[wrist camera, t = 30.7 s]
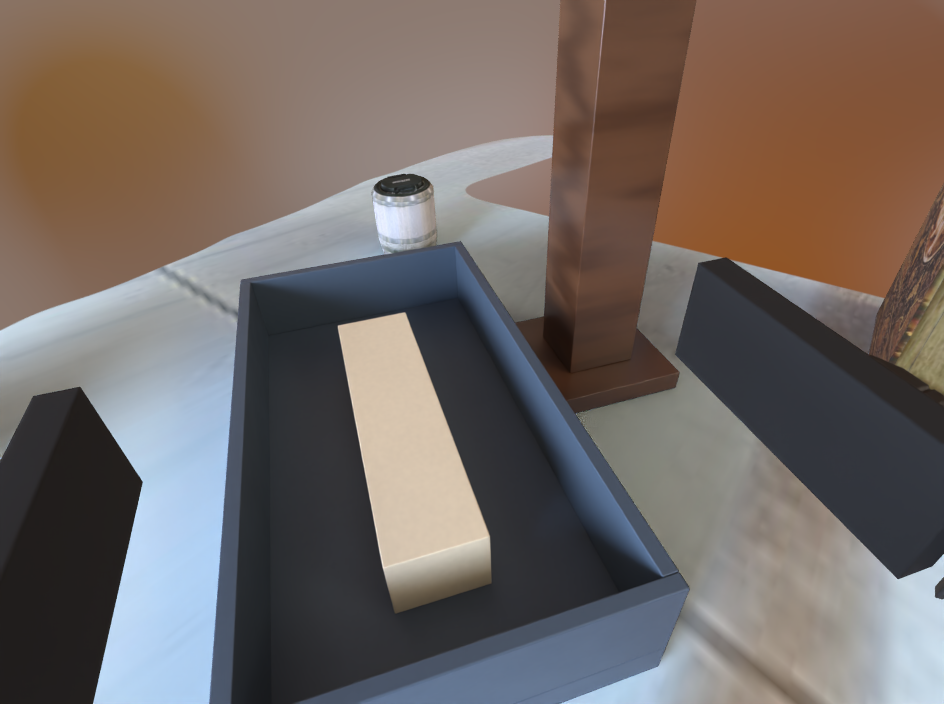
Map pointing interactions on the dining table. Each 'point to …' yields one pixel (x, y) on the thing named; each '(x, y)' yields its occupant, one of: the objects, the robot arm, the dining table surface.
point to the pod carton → (412, 468)
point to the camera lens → (405, 213)
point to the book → (917, 306)
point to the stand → (608, 195)
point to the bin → (352, 524)
